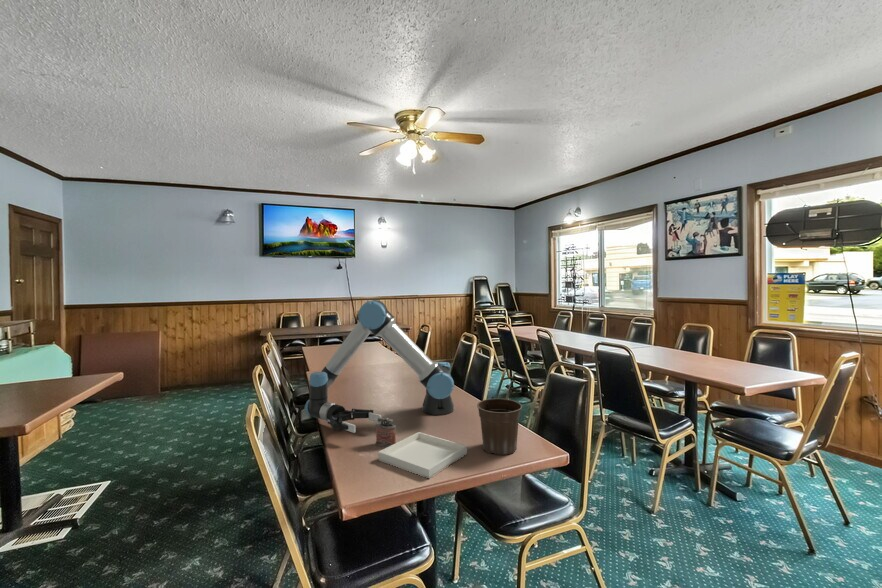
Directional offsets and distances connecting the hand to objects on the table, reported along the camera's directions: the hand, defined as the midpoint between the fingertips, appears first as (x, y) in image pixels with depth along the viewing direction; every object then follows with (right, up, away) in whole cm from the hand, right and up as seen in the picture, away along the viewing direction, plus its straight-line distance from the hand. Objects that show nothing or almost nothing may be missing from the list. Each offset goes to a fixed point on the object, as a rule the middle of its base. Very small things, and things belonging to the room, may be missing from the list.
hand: (368, 423), depth 150 cm
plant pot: (+50, -6, -8) cm, 51 cm away
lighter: (+8, -6, -5) cm, 11 cm away
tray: (+22, -6, -16) cm, 28 cm away
